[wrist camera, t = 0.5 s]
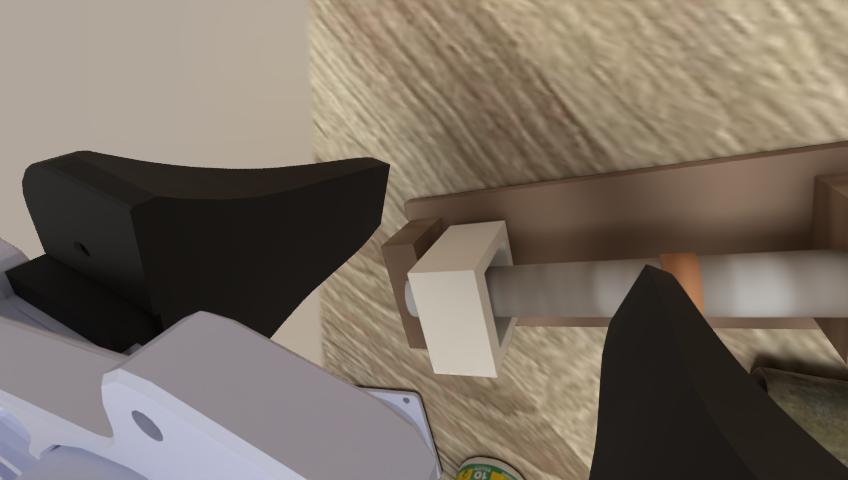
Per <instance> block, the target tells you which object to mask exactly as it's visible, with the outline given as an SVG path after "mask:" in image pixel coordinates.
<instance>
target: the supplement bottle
mask: <svg viewBox="0 0 848 480" xmlns="http://www.w3.org/2000/svg"><path fill="white" fill-rule="evenodd" d="M455 480H524V479H523V478H522V477H521V476H520V474H519V473H518V472H517V471H515V470H514V469H513V468H512V467H510V466H509V465H507V464H505V463H503V462H501V461H498V460H495V459H491V458H484V457H476V458H472V459H469V460H467V461H466V462H464V463H463V464H462V465H461V467H460V468H459V471H458V473H457V476H456V478H455Z"/></svg>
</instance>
